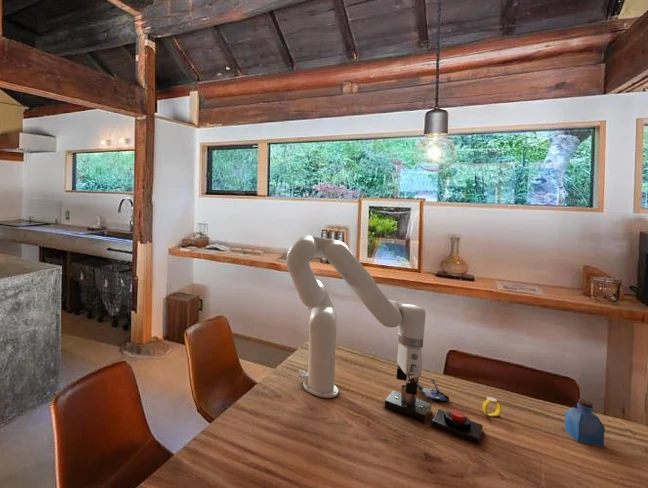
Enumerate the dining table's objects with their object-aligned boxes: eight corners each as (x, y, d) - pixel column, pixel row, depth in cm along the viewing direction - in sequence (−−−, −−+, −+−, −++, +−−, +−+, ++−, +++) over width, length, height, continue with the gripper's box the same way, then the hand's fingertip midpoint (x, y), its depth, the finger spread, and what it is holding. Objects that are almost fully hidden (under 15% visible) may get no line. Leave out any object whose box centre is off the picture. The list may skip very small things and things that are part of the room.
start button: (448, 418, 130) (449, 413, 130) (451, 413, 132) (451, 408, 132) (464, 424, 127) (464, 418, 127) (466, 418, 129) (466, 413, 129)
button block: (431, 426, 131) (432, 415, 130) (438, 414, 137) (438, 403, 137) (478, 445, 122) (478, 432, 122) (482, 431, 129) (483, 419, 129)
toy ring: (495, 413, 139) (496, 396, 139) (503, 417, 136) (504, 401, 136) (479, 413, 139) (480, 396, 139) (486, 418, 136) (487, 401, 136)
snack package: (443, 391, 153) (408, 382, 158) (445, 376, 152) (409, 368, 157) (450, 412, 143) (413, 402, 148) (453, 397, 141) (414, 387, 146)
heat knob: (417, 406, 137) (418, 391, 137) (403, 404, 138) (403, 389, 138) (412, 399, 141) (413, 385, 141) (399, 397, 142) (399, 383, 142)
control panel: (384, 408, 141) (385, 399, 141) (392, 397, 148) (393, 389, 147) (424, 424, 132) (425, 414, 132) (431, 412, 139) (431, 403, 139)
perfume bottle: (588, 434, 128) (590, 398, 128) (603, 446, 123) (605, 409, 122) (564, 429, 130) (566, 394, 130) (577, 441, 125) (580, 405, 124)
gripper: (432, 352, 130) (427, 402, 131) (413, 332, 146) (409, 376, 147) (406, 348, 132) (402, 397, 133) (390, 329, 148) (386, 372, 149)
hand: (405, 386), depth 140 cm, fingers open, 9 cm apart
